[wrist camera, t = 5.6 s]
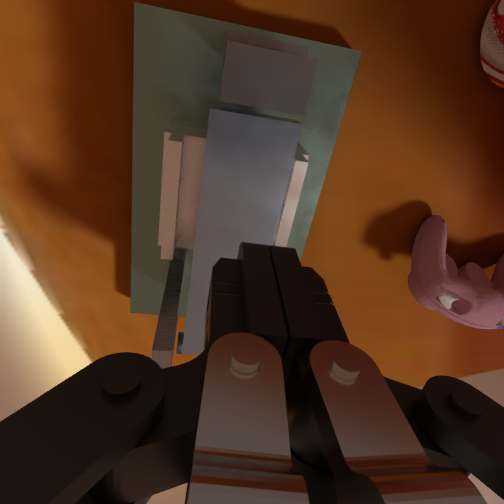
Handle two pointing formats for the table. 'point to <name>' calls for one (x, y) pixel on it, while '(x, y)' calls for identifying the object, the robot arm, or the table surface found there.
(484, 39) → the soda can
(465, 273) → the video game controller
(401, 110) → the table surface
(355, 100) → the table surface
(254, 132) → the flat rectangular panel
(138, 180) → the grey stand with posts
